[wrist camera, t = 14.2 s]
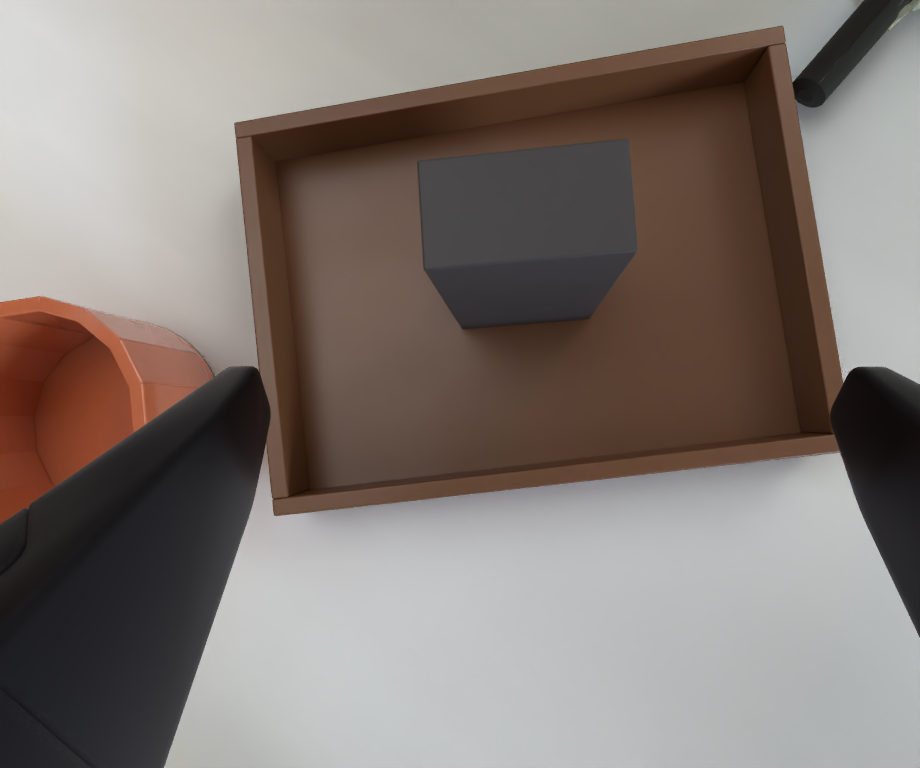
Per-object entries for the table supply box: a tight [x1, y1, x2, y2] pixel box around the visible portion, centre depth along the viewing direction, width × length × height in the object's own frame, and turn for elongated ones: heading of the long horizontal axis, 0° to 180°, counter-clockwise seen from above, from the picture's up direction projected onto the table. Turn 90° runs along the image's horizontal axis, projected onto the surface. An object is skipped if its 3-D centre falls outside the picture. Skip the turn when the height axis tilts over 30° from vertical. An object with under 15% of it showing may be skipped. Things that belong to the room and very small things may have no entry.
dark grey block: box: [417, 139, 638, 329], centre depth 18 cm, size 3×5×9 cm, turn 94°
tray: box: [235, 26, 843, 516], centre depth 21 cm, size 14×19×3 cm
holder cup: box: [0, 296, 214, 524], centre depth 22 cm, size 8×8×5 cm
